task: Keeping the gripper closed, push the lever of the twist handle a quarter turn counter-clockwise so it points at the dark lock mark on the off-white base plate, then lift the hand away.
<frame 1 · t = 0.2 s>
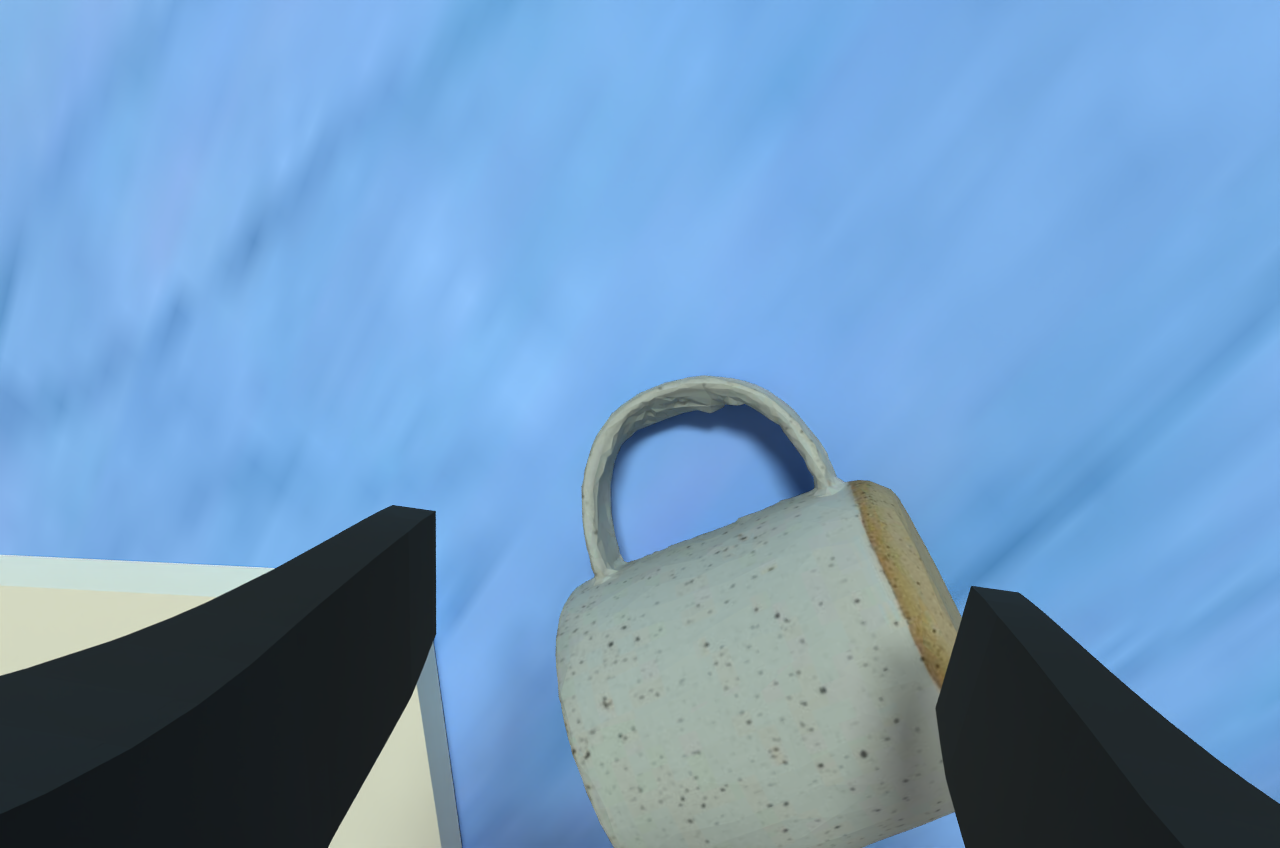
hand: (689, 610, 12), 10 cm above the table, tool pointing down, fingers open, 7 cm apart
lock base: (194, 792, 29), on the table
ceramic mug: (746, 547, 23), on the table
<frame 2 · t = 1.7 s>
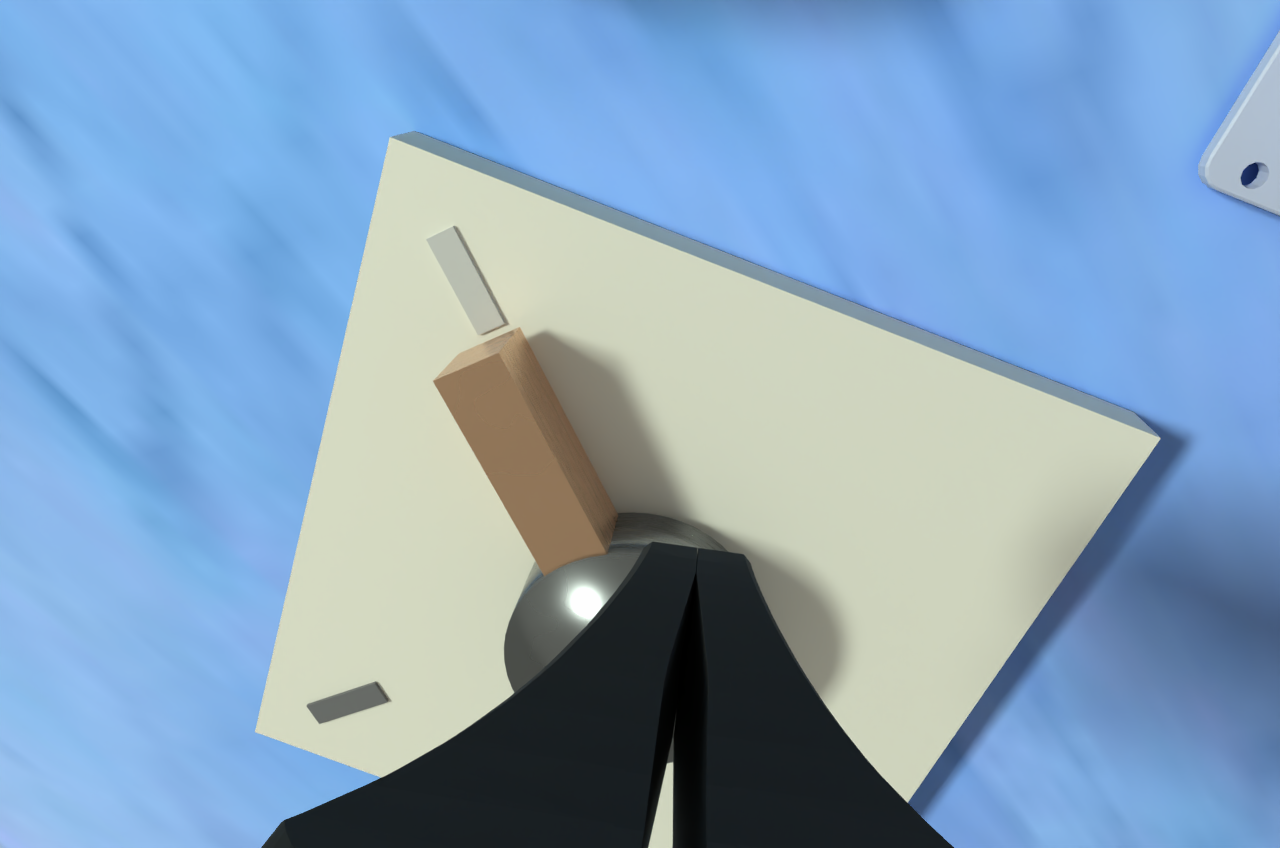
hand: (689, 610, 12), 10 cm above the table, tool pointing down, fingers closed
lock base: (647, 574, 24), on the table
twist handle: (589, 558, 20), point 3 cm above the table, hinge at 0.0°
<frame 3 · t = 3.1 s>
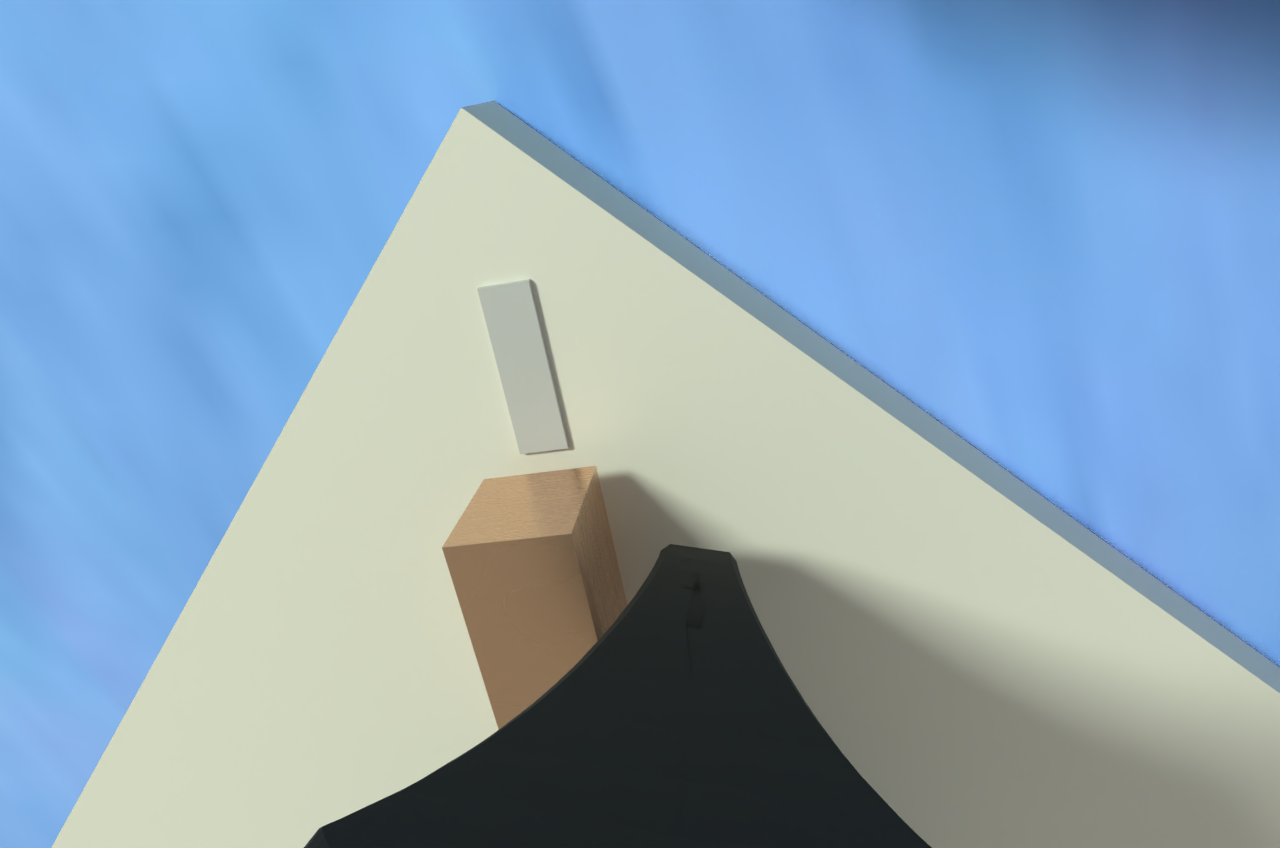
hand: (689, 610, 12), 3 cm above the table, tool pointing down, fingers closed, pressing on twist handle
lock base: (656, 798, 17), on the table
twist handle: (608, 824, 13), point 3 cm above the table, hinge at 0.1°, touching gripper
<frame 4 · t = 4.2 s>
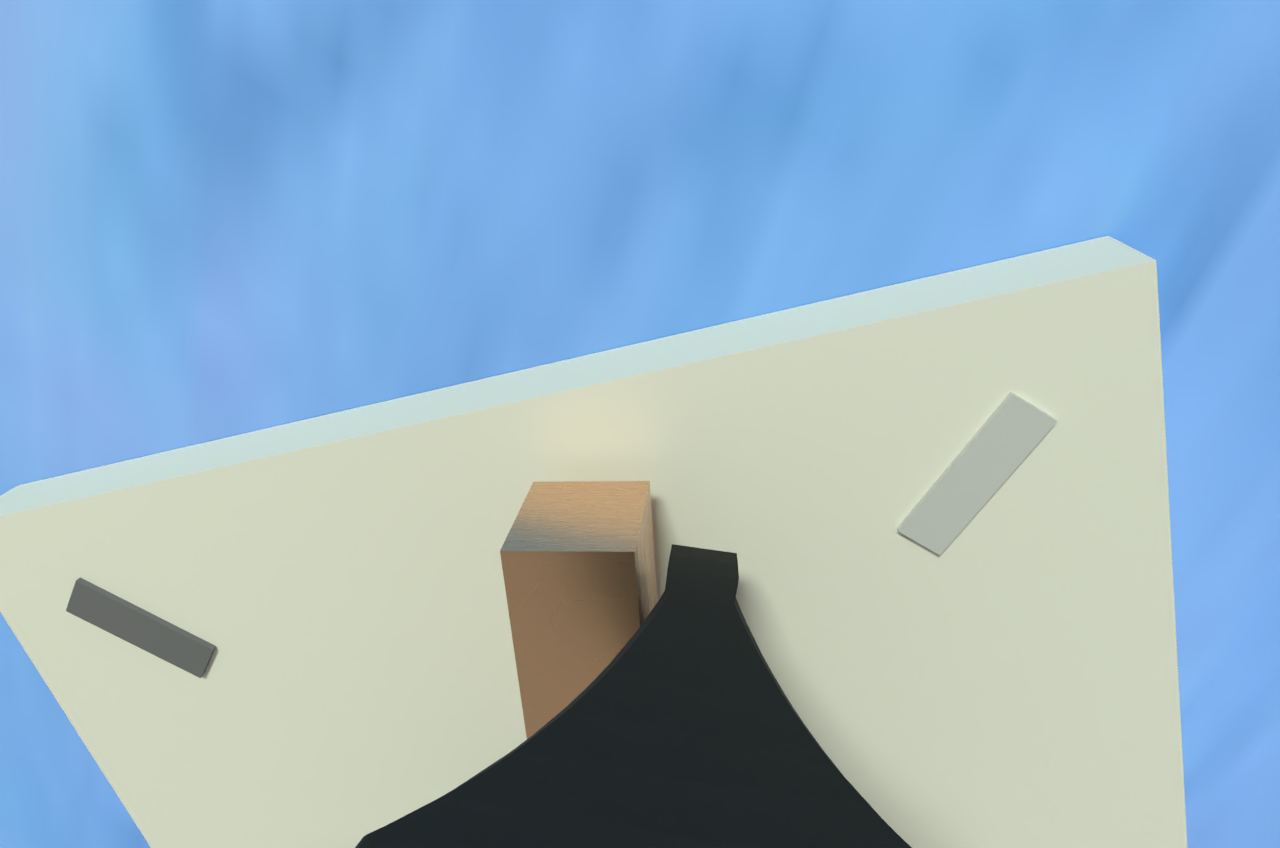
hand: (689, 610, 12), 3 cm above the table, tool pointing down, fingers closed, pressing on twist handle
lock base: (641, 805, 17), on the table
twist handle: (611, 834, 13), point 3 cm above the table, hinge at 33.3°, touching gripper
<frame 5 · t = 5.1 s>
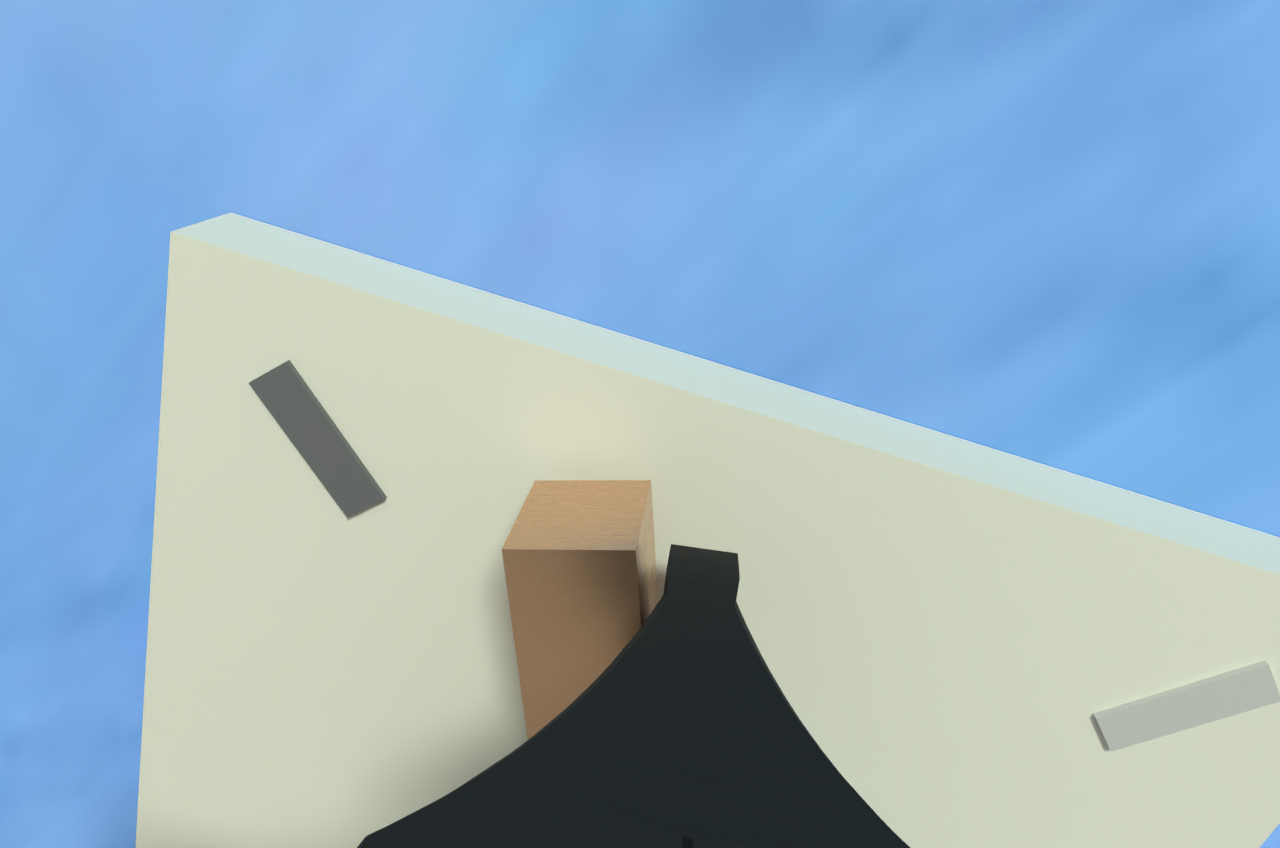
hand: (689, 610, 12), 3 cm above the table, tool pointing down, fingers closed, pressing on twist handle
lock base: (641, 805, 17), on the table
twist handle: (611, 833, 13), point 3 cm above the table, hinge at 64.4°, touching gripper
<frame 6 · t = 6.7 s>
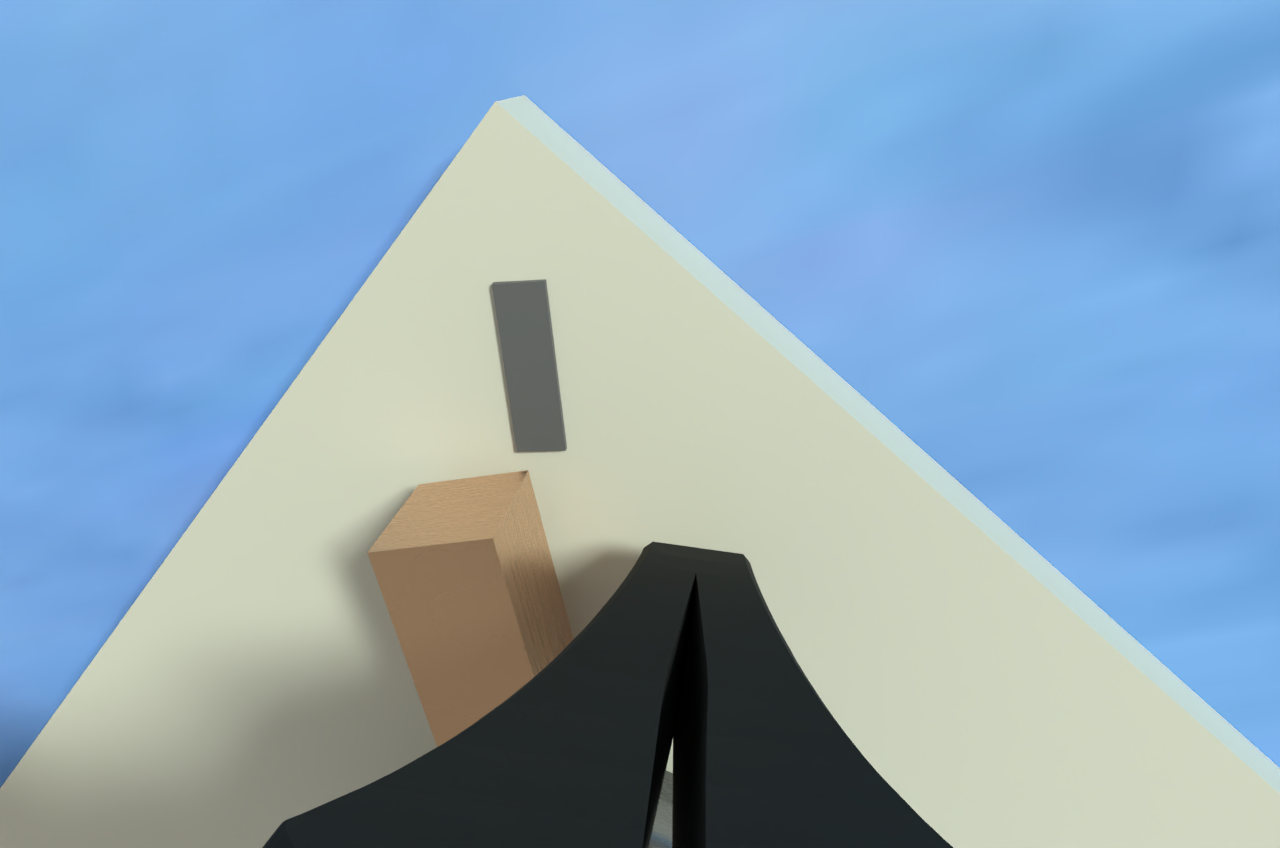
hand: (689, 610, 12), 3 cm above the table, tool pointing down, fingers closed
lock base: (611, 799, 17), on the table
twist handle: (550, 825, 13), point 3 cm above the table, hinge at 96.5°
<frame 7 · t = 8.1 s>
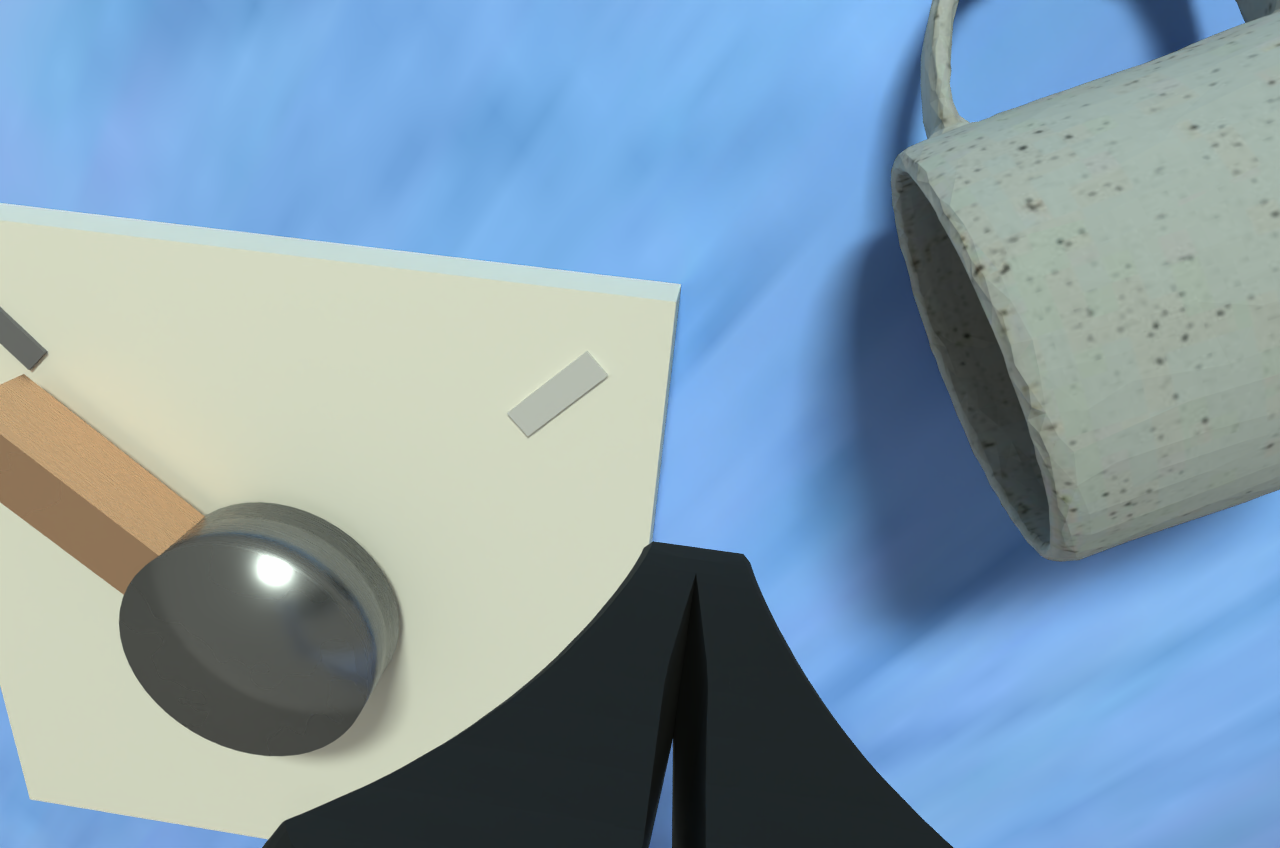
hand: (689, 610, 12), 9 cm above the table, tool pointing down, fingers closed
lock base: (318, 566, 24), on the table
ceramic mug: (1072, 180, 18), on the table
twist handle: (179, 565, 21), point 3 cm above the table, hinge at 96.7°
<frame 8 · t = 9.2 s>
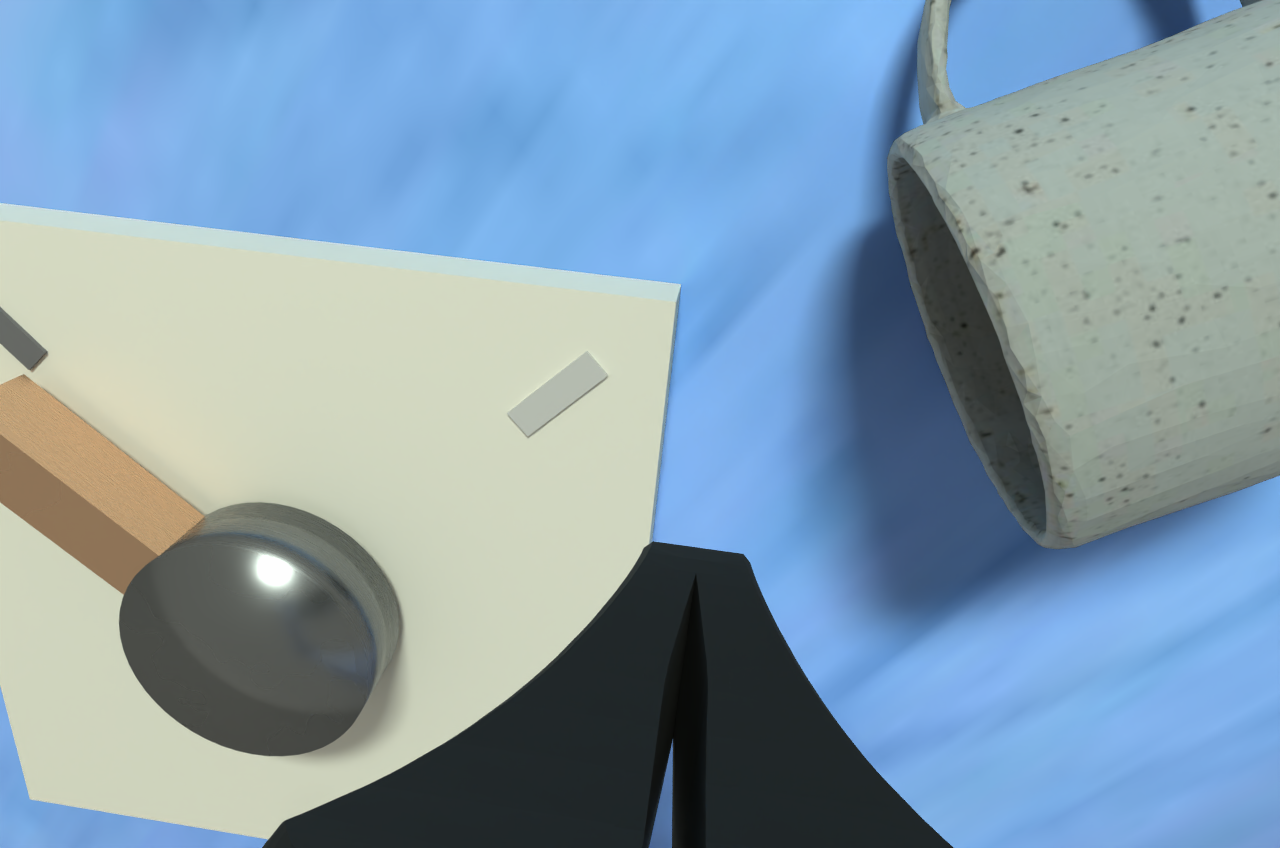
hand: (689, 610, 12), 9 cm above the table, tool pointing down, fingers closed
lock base: (318, 566, 24), on the table
ceramic mug: (1070, 168, 18), on the table
twist handle: (179, 565, 21), point 3 cm above the table, hinge at 96.7°
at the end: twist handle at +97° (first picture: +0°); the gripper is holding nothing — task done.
